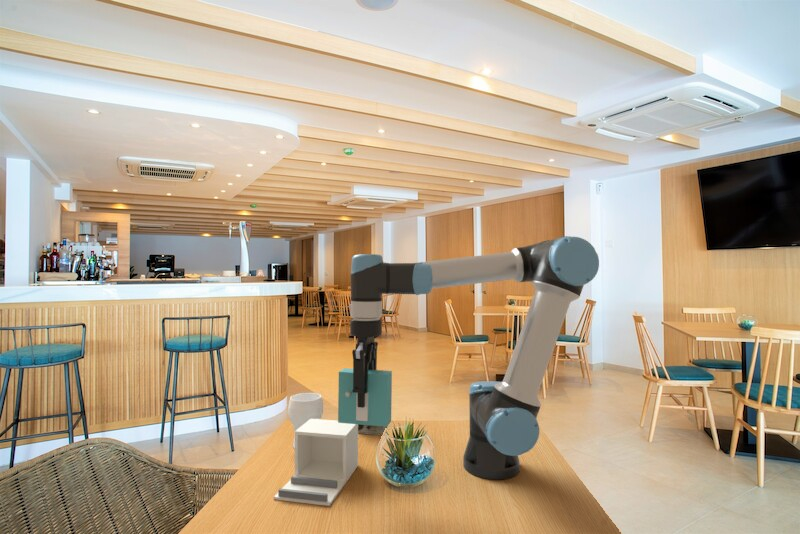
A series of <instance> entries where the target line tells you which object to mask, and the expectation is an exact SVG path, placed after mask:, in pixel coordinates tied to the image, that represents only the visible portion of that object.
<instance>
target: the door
mask: <svg viewBox="0 0 800 534" xmlns="http://www.w3.org/2000/svg"><path fill="white" fill-rule="evenodd" d="M392 377H393V372H392V370H383V369H380V370H379V369H377V370H368V383H367V392H368V421H359V420H356V393H353V391H352V390H353V368H347V367H346V368H345V367H344V368H342V369H341V370H339V371H338V393H337V394H338V395H337V396H338V398H337V399H338V402H337V403H338V405H337V406H338V408H337V409H338V411H337V421H338V423H348V424H360V425H372V426H383V427H387V428H388V427H389V425H390V423H392V392H393V391H392V388H393V386H392V384H393V383H392V382H393V381H392V380H393V378H392Z"/></svg>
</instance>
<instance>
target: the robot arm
mask: <svg viewBox="0 0 800 534" xmlns="http://www.w3.org/2000/svg"><path fill="white" fill-rule="evenodd" d="M599 268H600V259H599V254H598V253H597V251H596V248H595V247H594V246H593V245H592V244H591V243H590V242H589V241H588V240H587V239H584V238H582V237H579V236H570V235H569V236H567V235H566V236H561V237H559V238H553V239H546V240H543V241H541V242H537V243H533V244H531V245H526V246H520V247H513V248H512V249H511V251H509V252H500V253H492V254H482V255H475V256H474V255H473V256H472V255H471V256H465V257H455V258H445V259H440V260H429V261H421V262H402V263H401V262H396V263H395V262H391V263H390V262H384V260H383V256H382V255H381V254H371V253H369V254H366V253H365V254H364V253H363V254H362V253H361V254H359V253H358V254H355V255H353V256H352V258H351V265H350V304H349V305H348V308H349V309H350V317H351V318H352V319H351V320H350V321H349V322H350V324H349V326H350V329H349V332H350V333H349V334H350V335H351V336H353V337H357V341H356V343H355V349H354V348H353V349H352V359H353V360H352V366H353V367H352V369H353V390H352V391H353V393H356V420H359V421H368V392H367V383H368V370H378V369H377V367H378V365H377V364H378V345H379V343H378V341H375V337H380V336H381V335H382V333H383V332H382V331H383V329H382V326H383V322H382V320H381V318H382V317H383V294H384V295H391V294H392V295H416V296H420V295H428V294H430V293H431V291H432V289H441V288H450V287H456V286H467V285H476V284H485V283H494V282H503V281H511V280H513V281H515V282H516V283H525V282H527V283H528V282H531V283H532V286H533V288H534V294H533V296H532V299H531V303H529V304H530V305H529V308H528V311H527V313H526V315H525V319H524V322H523V324H522V328H521V330H520V333H519V335H518V338H517V341H516V343H515V347H514V350H513V352H512V355H511V357H510V360H509V362H508V366H507V369H506V371H505V374H504V376H503V379H502V381H493V380H491V381H487V380H485V381H484V380H483V381H475V382H472V383H471V384H470V386H469V393H468V396H469V398H468V399H469V401H468V402H469V403H468V404H469V437H468V441H467V444H466V447H465V450H464V452H463V457H462V459H463V461H462V464H463V468H464V469H465V471H466V472H468V473H469V474H470V475H473V476H476V477H479V478H483V479H487V480H488V479H489V480H506V479H510V478H513V477H515V476H516V475H518V474H519V473H520V470H521V467H520V458H519V456H522V455H523V454H525V453H528V452H530V451H531V450H532V449H533V448H534V447H535V445H536V444H537V442H538V440H539V437H540V425H539V422H538V420H537V418H538V414H539V412H540V410H541V405H542V403H541V401H540V399H539V397H538V394H539V391H540V389H541V385H542V383H543V379H544V378H545V374H546V372H547V369H548V366H549V363H550V361H551V357H552V355H553V353H554V350H555V347H556V343H557V341H558V339H559V336H560V333H561V330H562V328H563V327H562V326H563V324H564V322H565V319H566V316H567V313H568V311H569V308H570V305H571V303H572V302H573V301H576V300H579V299H580V297H581V294H582V291H583V289H584V286H585V285H586V284H589V283H590V282H591V281H593V280H594V279H595V278H596V275H597V274H598V271H599Z"/></svg>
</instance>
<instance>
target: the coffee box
mask: <svg viewBox="0 0 800 534" xmlns="http://www.w3.org/2000/svg"><path fill="white" fill-rule="evenodd" d="M385 428H387V429H388V427H383V426H372V425H360V424H358V434H365V435H378V436H383V435H382V434H383V432H384V430H385Z"/></svg>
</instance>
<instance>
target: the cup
mask: <svg viewBox="0 0 800 534" xmlns="http://www.w3.org/2000/svg"><path fill="white" fill-rule="evenodd" d="M287 408H288V409H287V410H288V411H287V414H288V417H289V421H290V422H291V424H292V426H293V433H294V434H295V431H296V430H297V429H298V428H300V427H301V426H302V425H303V424H305V423H306V422H307V421H308V420H310V419H322V416H323V413H324V401H323V397H322V395H321V394H320V393H318V392H300V393H296V394H293V395H291V396H290V397H289V402H288V406H287ZM292 442H293V444H292V448H293V449H294V450H295V435H294V437H293V441H292Z"/></svg>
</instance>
